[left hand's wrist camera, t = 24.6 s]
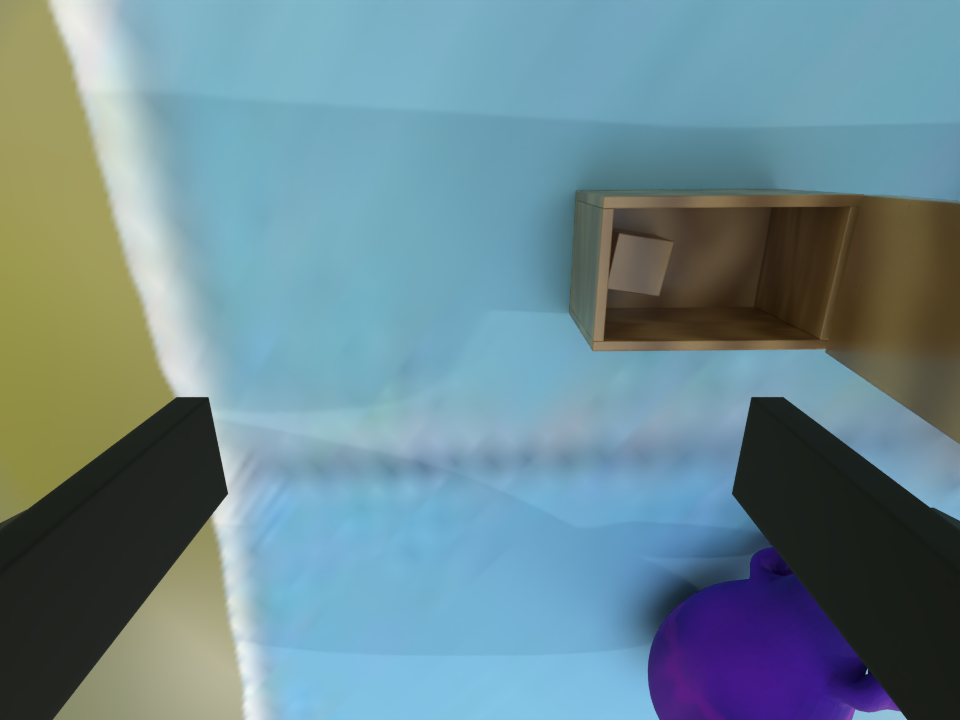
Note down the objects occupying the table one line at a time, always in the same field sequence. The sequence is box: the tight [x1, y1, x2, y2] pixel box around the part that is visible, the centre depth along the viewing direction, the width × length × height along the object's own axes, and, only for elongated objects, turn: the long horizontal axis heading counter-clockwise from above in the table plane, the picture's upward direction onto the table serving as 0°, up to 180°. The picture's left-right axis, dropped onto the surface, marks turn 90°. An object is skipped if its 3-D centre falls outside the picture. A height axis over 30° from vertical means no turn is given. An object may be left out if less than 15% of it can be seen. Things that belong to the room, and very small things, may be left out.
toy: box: [648, 547, 900, 720], centre depth 46 cm, size 16×18×27 cm
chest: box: [569, 189, 864, 351], centre depth 38 cm, size 16×10×10 cm, turn 90°
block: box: [608, 228, 674, 297], centre depth 40 cm, size 4×4×4 cm
